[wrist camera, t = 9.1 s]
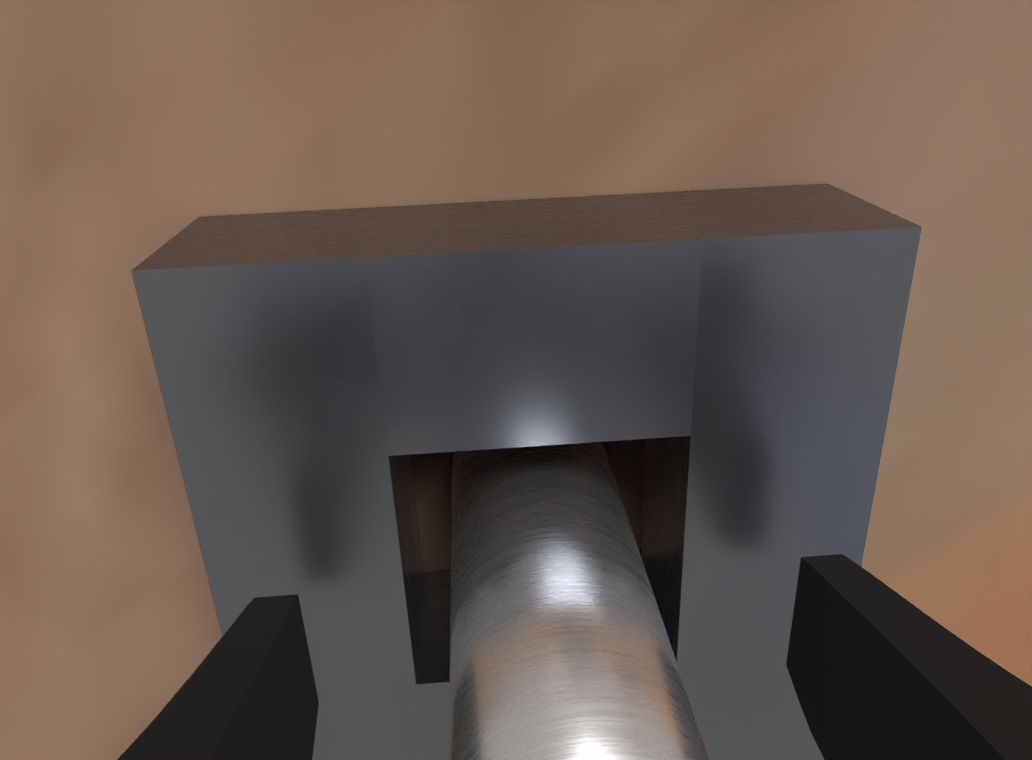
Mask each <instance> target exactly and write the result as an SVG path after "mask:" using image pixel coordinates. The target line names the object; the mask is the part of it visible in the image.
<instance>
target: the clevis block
mask: <svg viewBox="0 0 1032 760" xmlns="http://www.w3.org/2000/svg"><path fill="white" fill-rule="evenodd" d="M920 232H921V226H919V225H916V224H914V223H912V222H910V221H908V220H906V219H903V218H901V217H899V216H897V215H895V214H892V213H890V212H888V211H886V210H884V209H882V208H879V207H877V206H875V205H873V204H871V203H869V202H866V201H864V200H862V199H860V198H858V197H855V196H853V195H851V194H849V193H847V192H845V191H842V190H840V189H838V188H836V187H834V186H832V185H829V184H815V185H796V186H777V187H758V188H739V189H720V190H701V191H682V192H663V193H645V194H626V195H607V196H588V197H569V198H550V199H531V200H512V201H493V202H474V203H455V204H436V205H417V206H398V207H379V208H360V209H341V210H322V211H303V212H284V213H265V214H246V215H227V216H208V217H199V218H197V219H196V220H195V221H193V222H192V223H191V224H190V225H188V226H187V227H186V228H185V229H183V230H182V231H181V232H180V233H178V234H177V235H176V236H174V237H173V238H172V239H171V240H169V241H168V242H167V243H166V244H164V245H163V246H162V247H161V248H159V249H158V250H157V251H155V252H154V253H153V254H152V255H150V256H149V257H148V258H147V259H145V260H144V261H143V262H142V263H140V264H139V265H138V266H136V267H135V268H134V269H133V270H131V272H132V276H133V280H134V284H135V288H136V292H137V296H138V300H139V304H140V308H141V312H142V316H143V320H144V324H145V328H146V332H147V336H148V340H149V344H150V348H151V352H152V356H153V360H154V364H155V368H156V372H157V376H158V380H159V384H160V388H161V392H162V396H163V400H164V404H165V408H166V412H167V416H168V420H169V424H170V428H171V432H172V436H173V440H174V444H175V448H176V452H177V456H178V460H179V464H180V468H181V472H182V476H183V480H184V484H185V488H186V492H187V496H188V500H189V504H190V508H191V512H192V516H193V520H194V524H195V528H196V532H197V536H198V540H199V544H200V548H201V552H202V556H203V560H204V564H205V568H206V572H207V576H208V580H209V584H210V588H211V592H212V596H213V600H214V604H215V608H216V612H217V616H218V620H219V624H220V628H221V632H222V636H223V635H224V634H225V633H226V631H227V630H228V629H229V628H230V626H231V625H232V624H233V623H234V621H235V620H236V619H237V617H238V616H239V615H240V614H241V612H242V611H243V610H244V609H245V607H246V606H247V605H248V604H249V603H250V602H251V601H252V600H253V599H254V598H255V597H269V596H282V595H295V594H298V596H299V602H300V607H301V612H302V617H303V622H304V628H305V633H306V638H307V643H308V648H309V654H310V659H311V664H312V669H313V674H314V680H315V685H316V690H317V695H318V700H319V706H318V714H317V723H316V732H315V741H314V749H313V756H312V760H449V694H450V605H451V571H438V572H425V573H423V568H422V559H421V550H420V541H419V531H418V522H417V513H416V504H415V494H414V485H413V476H412V467H411V457H410V455H411V454H426V453H441V452H456V451H471V450H486V449H501V448H516V447H531V446H546V445H561V444H576V443H591V442H606V441H621V440H636V439H644V468H643V497H642V526H641V558H642V561H643V564H644V567H645V570H646V573H647V576H648V579H649V582H650V585H651V588H652V591H653V594H654V597H655V599H656V602H657V605H658V608H659V611H660V614H661V617H662V620H663V623H664V626H665V629H666V632H667V635H668V638H669V641H670V644H671V647H672V650H673V653H674V656H675V659H676V662H677V664H678V667H679V670H680V673H681V676H682V679H683V682H684V685H685V688H686V691H687V694H688V697H689V700H690V703H691V706H692V709H693V712H694V715H695V718H696V721H697V724H698V727H699V729H700V732H701V735H702V738H703V741H704V744H705V747H706V750H707V753H708V756H709V759H710V760H824V758H823V756H822V754H821V752H820V750H819V748H818V746H817V744H816V742H815V740H814V738H813V736H812V734H811V732H810V729H809V726H808V724H807V721H806V718H805V716H804V713H803V711H802V708H801V705H800V703H799V700H798V697H797V694H796V692H795V689H794V686H793V683H792V680H791V677H790V675H789V672H788V669H787V666H786V662H787V654H788V647H789V640H790V633H791V625H792V618H793V611H794V604H795V596H796V589H797V582H798V575H799V567H800V560H801V557H808V556H822V555H835V554H843V555H845V556H846V557H848V558H849V559H851V560H852V561H853V562H855V563H856V564H858V565H859V566H861V564H862V558H863V552H864V547H865V541H866V535H867V530H868V524H869V519H870V513H871V507H872V502H873V496H874V491H875V485H876V479H877V474H878V468H879V462H880V457H881V451H882V446H883V440H884V434H885V429H886V423H887V418H888V412H889V406H890V401H891V395H892V389H893V384H894V378H895V373H896V367H897V361H898V356H899V350H900V345H901V339H902V333H903V328H904V322H905V316H906V311H907V305H908V300H909V294H910V288H911V283H912V277H913V272H914V266H915V260H916V255H917V249H918V243H919V238H920Z"/></svg>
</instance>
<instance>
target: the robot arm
mask: <svg viewBox="0 0 1032 760" xmlns="http://www.w3.org/2000/svg"><path fill="white" fill-rule="evenodd" d="M786 666H787V669H788V672H789V675H790V677H791V680H792V683H793V686H794V689H795V692H796V694H797V697H798V700H799V703H800V705H801V708H802V711H803V713H804V716H805V718H806V721H807V724H808V726H809V729H810V732H811V734H812V736H813V738H814V740H815V742H816V744H817V746H818V748H819V750H820V752H821V754H822V756H823V758H824V760H1032V687H1031V686H1030V685H1028V684H1027V683H1025V682H1024V681H1022V680H1020V679H1019V678H1017V677H1016V676H1014V675H1013V674H1011V673H1009V672H1008V671H1006V670H1005V669H1003V668H1002V667H1001V666H999V665H998V664H996V663H995V662H993V661H992V660H990V659H989V658H987V657H986V656H984V655H983V654H981V653H980V652H978V651H977V650H975V649H974V648H973V647H971V646H970V645H968V644H967V643H965V642H964V641H963V640H961V639H960V638H958V637H957V636H956V635H954V634H953V633H951V632H950V631H948V630H947V629H946V628H944V627H943V626H941V625H940V624H939V623H937V622H936V621H935V620H933V619H932V618H930V617H929V616H928V615H926V614H925V613H923V612H922V611H921V610H919V609H918V608H917V607H915V606H914V605H913V604H911V603H910V602H908V601H907V600H906V599H904V598H903V597H902V596H900V595H899V594H898V593H896V592H895V591H893V590H892V589H891V588H889V587H888V586H887V585H885V584H884V583H883V582H881V581H880V580H879V579H877V578H876V577H874V576H873V575H872V574H870V573H869V572H868V571H866V570H865V569H863V568H862V567H861V566H859V565H858V564H856V563H855V562H853V561H852V560H851V559H849V558H848V557H846V556H845V555H843V554H835V555H822V556H808V557H801V560H800V567H799V575H798V582H797V589H796V596H795V604H794V611H793V618H792V625H791V633H790V640H789V647H788V654H787V662H786ZM318 706H319V700H318V695H317V690H316V685H315V680H314V674H313V669H312V664H311V659H310V654H309V648H308V643H307V638H306V633H305V628H304V622H303V617H302V612H301V607H300V602H299V596H298V594H295V595H282V596H269V597H255V598H254V599H253V600H252V601H251V602H250V603H249V604H248V605H247V606H246V607H245V609H244V610H243V611H242V612H241V614H240V615H239V616H238V617H237V619H236V620H235V621H234V623H233V624H232V625H231V626H230V628H229V629H228V630H227V631H226V633H225V634H224V635H223V637H222V638H221V639H220V640H219V642H218V643H217V644H216V645H215V647H214V648H213V649H212V650H211V652H210V653H209V654H208V655H207V657H206V658H205V659H204V660H203V662H202V663H201V664H200V665H199V667H198V668H197V669H196V670H195V672H194V673H193V674H192V675H191V676H190V678H189V679H188V680H187V681H186V682H185V683H184V685H183V686H182V687H181V688H180V689H179V691H178V692H177V693H176V694H175V695H174V697H173V698H172V699H171V700H170V701H169V702H168V704H167V705H166V706H165V707H164V708H163V710H162V711H161V712H160V713H159V714H158V715H157V717H156V718H155V719H154V720H153V721H152V722H151V723H150V725H149V726H148V727H147V728H146V729H145V730H144V731H143V732H142V733H141V735H140V736H139V737H138V738H137V739H136V740H135V741H134V742H133V743H132V744H131V745H130V746H129V748H128V749H127V750H126V751H125V752H124V753H123V754H122V755H121V756H120V757H119V758H118V760H312V756H313V749H314V741H315V732H316V723H317V714H318Z"/></svg>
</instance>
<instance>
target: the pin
mask: <svg viewBox="0 0 1032 760" xmlns="http://www.w3.org/2000/svg"><path fill="white" fill-rule="evenodd" d="M449 760H710V759H709V756H708V753H707V750H706V747H705V744H704V741H703V738H702V735H701V732H700V729H699V727H698V724H697V721H696V718H695V715H694V712H693V709H692V706H691V703H690V700H689V697H688V694H687V691H686V688H685V685H684V682H683V679H682V676H681V673H680V670H679V667H678V664H677V662H676V659H675V656H674V653H673V650H672V647H671V644H670V641H669V638H668V635H667V632H666V629H665V626H664V623H663V620H662V617H661V614H660V611H659V608H658V605H657V602H656V599H655V597H654V594H653V591H652V588H651V585H650V582H649V579H648V576H647V573H646V570H645V567H644V564H643V561H642V558H641V555H640V552H639V549H638V546H637V543H636V540H635V537H634V534H633V532H632V529H631V526H630V523H629V520H628V517H627V514H626V511H625V508H624V505H623V502H622V499H621V496H620V493H619V490H618V487H617V484H616V481H615V478H614V475H613V472H612V469H611V467H610V464H609V461H608V458H607V455H606V452H605V449H604V446H603V443H602V442H591V443H576V444H561V445H546V446H531V447H516V448H501V449H486V450H471V451H456V452H454V456H453V462H452V516H451V605H450V694H449Z"/></svg>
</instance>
